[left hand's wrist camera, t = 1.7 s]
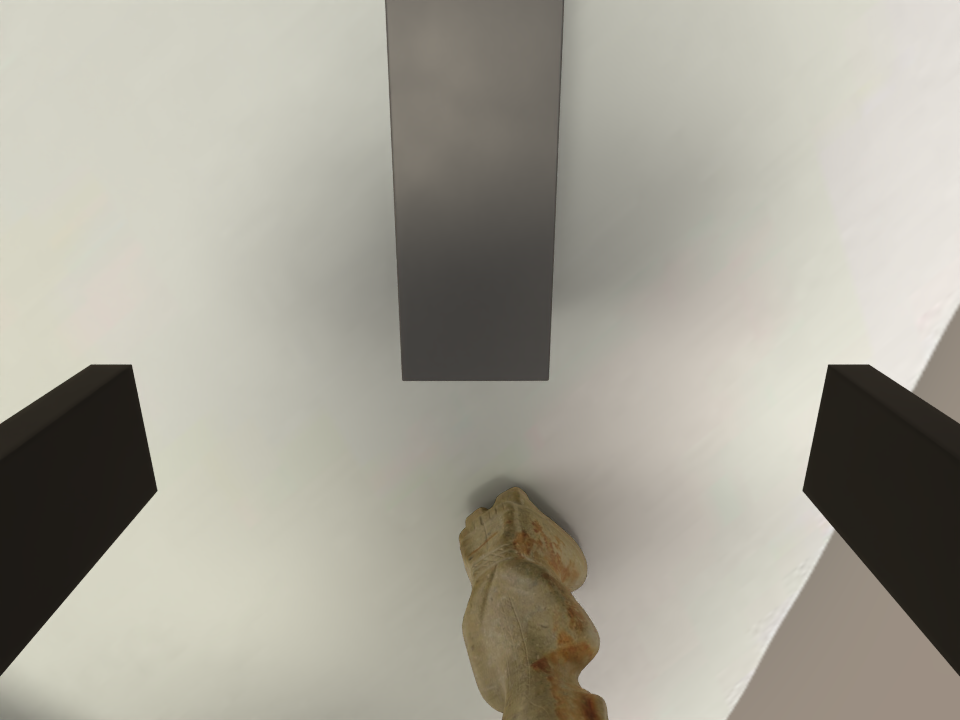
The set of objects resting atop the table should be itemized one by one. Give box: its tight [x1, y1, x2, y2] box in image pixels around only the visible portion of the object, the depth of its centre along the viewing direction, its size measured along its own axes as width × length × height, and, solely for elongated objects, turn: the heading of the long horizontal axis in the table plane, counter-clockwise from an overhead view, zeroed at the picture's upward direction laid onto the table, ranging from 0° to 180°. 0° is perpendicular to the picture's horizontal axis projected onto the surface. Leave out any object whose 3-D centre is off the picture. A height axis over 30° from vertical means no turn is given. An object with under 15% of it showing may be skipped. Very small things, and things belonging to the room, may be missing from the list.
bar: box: [385, 0, 564, 381], centre depth 24 cm, size 22×5×9 cm, turn 0°
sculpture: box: [459, 487, 608, 720], centre depth 29 cm, size 6×7×15 cm
